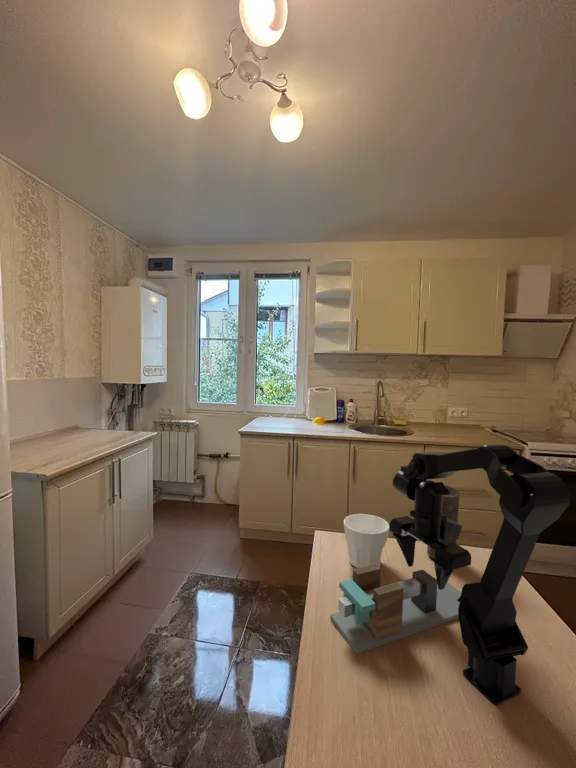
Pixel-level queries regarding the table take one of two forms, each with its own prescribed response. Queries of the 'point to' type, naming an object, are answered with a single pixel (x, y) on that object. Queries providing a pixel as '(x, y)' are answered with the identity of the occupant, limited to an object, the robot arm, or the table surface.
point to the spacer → (358, 600)
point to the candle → (448, 515)
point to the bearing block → (381, 602)
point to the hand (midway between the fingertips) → (425, 577)
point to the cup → (365, 538)
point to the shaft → (404, 593)
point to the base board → (411, 621)
